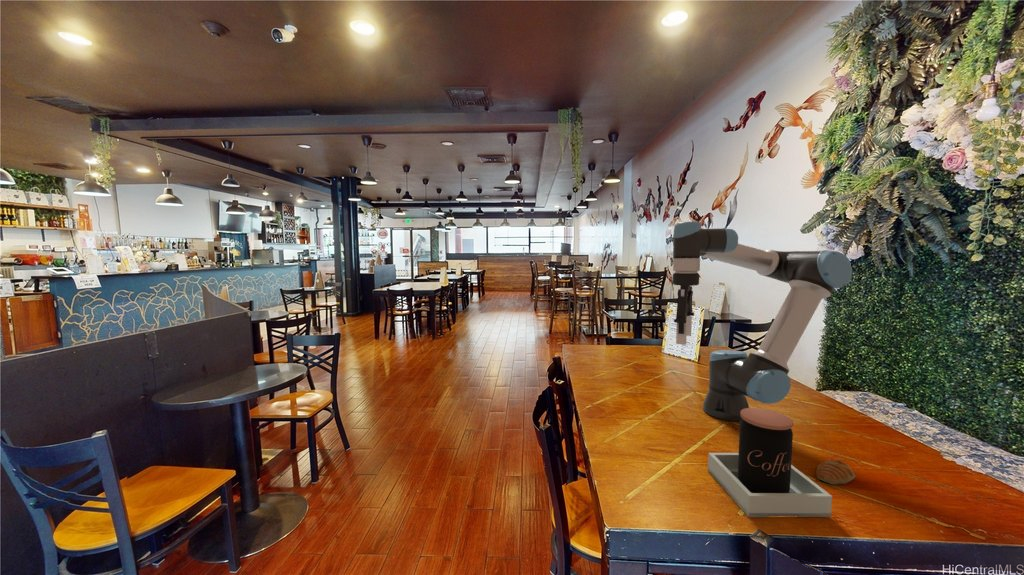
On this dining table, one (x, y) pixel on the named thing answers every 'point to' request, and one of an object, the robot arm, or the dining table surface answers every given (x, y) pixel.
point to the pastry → (835, 472)
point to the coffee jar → (765, 450)
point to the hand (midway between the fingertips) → (683, 339)
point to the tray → (798, 502)
